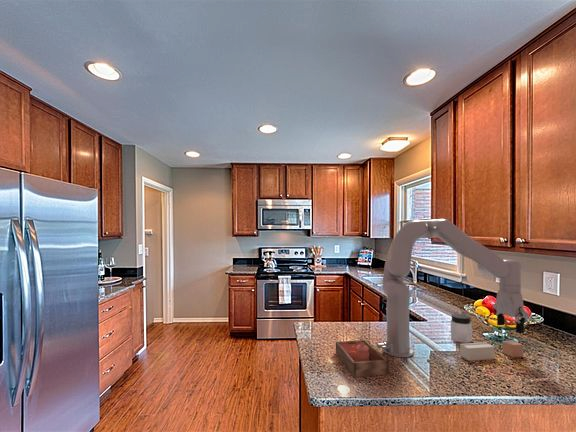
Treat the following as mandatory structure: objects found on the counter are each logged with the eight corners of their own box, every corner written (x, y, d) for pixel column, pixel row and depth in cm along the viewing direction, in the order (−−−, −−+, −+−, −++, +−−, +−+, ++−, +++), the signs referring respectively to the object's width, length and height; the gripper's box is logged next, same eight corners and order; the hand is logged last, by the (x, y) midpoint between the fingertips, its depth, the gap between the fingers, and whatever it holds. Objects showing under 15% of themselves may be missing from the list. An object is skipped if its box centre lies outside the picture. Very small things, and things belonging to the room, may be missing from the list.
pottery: (339, 354, 138) (339, 331, 138) (359, 352, 139) (359, 330, 139) (354, 372, 120) (353, 346, 120) (377, 370, 121) (376, 345, 122)
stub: (512, 357, 131) (511, 344, 131) (502, 352, 136) (502, 340, 136) (522, 356, 132) (522, 344, 132) (512, 352, 137) (512, 340, 137)
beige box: (468, 360, 128) (468, 348, 128) (460, 355, 133) (459, 343, 133) (494, 358, 130) (494, 346, 130) (485, 354, 135) (485, 342, 135)
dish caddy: (353, 376, 116) (353, 363, 116) (335, 353, 138) (335, 341, 138) (388, 374, 118) (388, 360, 118) (365, 351, 140) (364, 339, 140)
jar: (465, 345, 146) (464, 319, 147) (448, 340, 153) (447, 315, 154) (475, 341, 151) (474, 316, 152) (458, 337, 158) (457, 312, 159)
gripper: (486, 284, 143) (486, 322, 142) (519, 292, 126) (520, 335, 125) (501, 284, 144) (501, 322, 144) (536, 292, 127) (536, 335, 126)
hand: (510, 328), depth 134 cm, fingers open, 9 cm apart
